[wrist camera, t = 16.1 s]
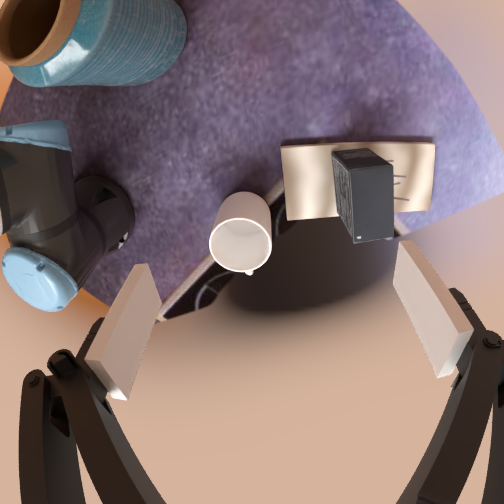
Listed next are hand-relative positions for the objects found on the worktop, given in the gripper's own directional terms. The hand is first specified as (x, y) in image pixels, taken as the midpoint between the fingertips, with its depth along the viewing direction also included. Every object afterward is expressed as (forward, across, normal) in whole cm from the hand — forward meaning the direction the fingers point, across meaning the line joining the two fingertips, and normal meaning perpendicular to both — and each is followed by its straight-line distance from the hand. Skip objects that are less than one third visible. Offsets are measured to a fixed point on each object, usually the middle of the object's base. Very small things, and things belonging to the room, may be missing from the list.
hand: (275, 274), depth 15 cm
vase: (+35, -17, +21) cm, 44 cm away
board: (+34, +15, -7) cm, 38 cm away
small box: (+33, +13, -7) cm, 36 cm away
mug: (+34, -5, -13) cm, 37 cm away
